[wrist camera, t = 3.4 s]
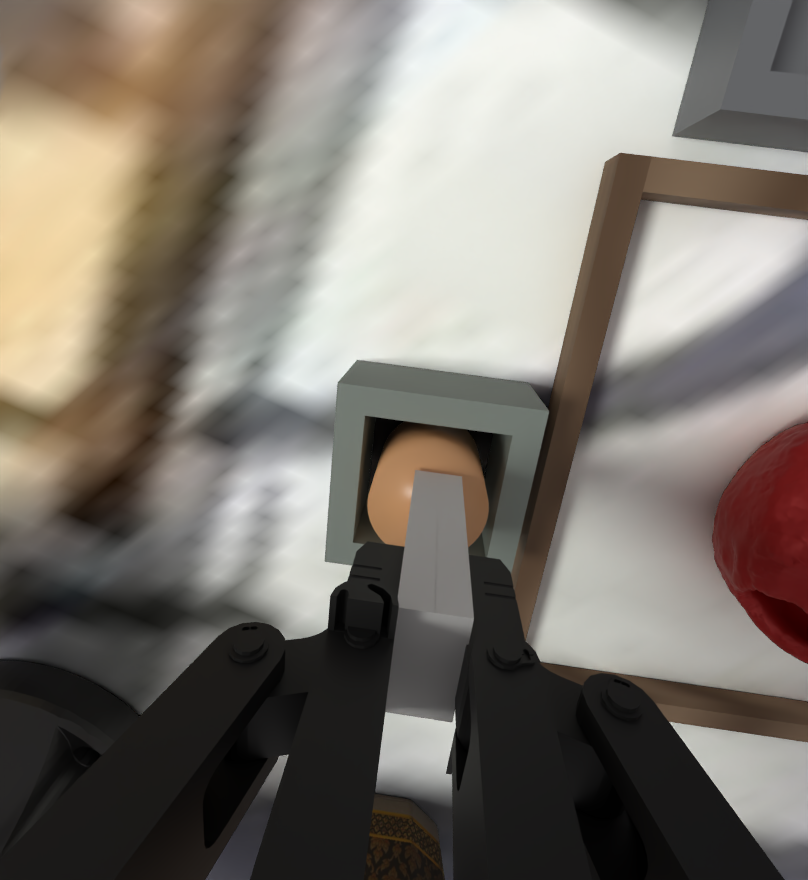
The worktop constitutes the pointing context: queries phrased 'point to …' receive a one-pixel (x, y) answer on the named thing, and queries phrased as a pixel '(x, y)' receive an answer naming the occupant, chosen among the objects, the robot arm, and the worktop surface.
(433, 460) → the button
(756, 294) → the worktop surface
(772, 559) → the pomegranate
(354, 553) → the button housing
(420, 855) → the ceramic cup
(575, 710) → the robot arm
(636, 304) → the worktop surface
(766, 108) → the tray
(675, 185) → the wooden flat square frame
